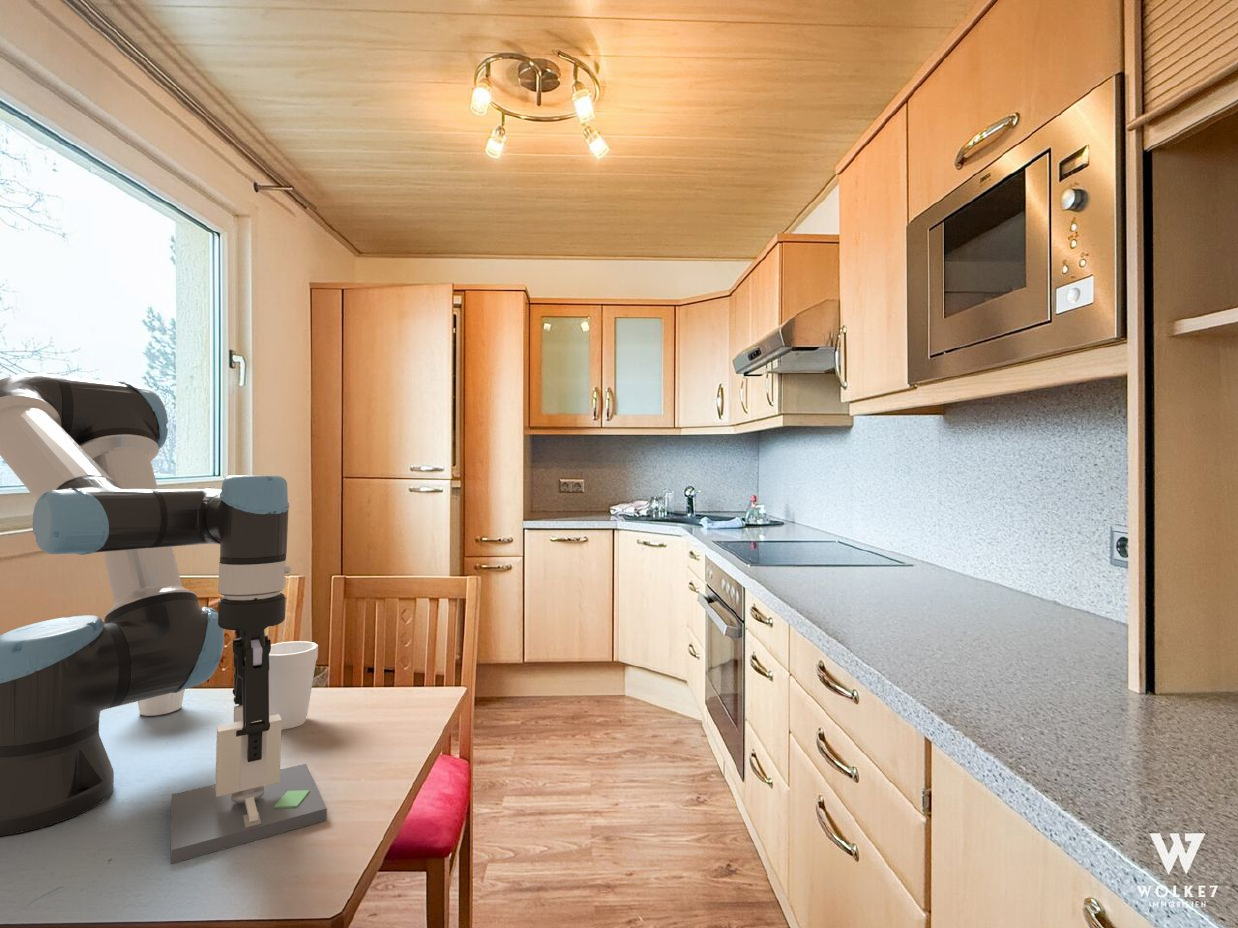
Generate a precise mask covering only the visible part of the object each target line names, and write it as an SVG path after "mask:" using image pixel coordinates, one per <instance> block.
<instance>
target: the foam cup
mask: <svg viewBox="0 0 1238 928" xmlns="http://www.w3.org/2000/svg"><path fill="white" fill-rule="evenodd" d="M318 656H319V644H317V643H316V642H312V641H308V640H307V641H306V640H305V641H304V640H296V641H295V640H293V641H283V642H282V641H281V642H277V643H271V650H270V653H269V716H272V715H277V714H279V715H280V718H281V731H282V730H288V729H292V728H296V727H299V726H301V725H303V724H304V723H306V721H307V717H308V713H309V706H310V700H311V696H312V695H311V694H312V688H313V683H314V682H313V681H314V676H315V669H316V663H317V660H318V658H319V657H318Z"/></svg>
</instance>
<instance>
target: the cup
mask: <svg viewBox="0 0 1238 928" xmlns="http://www.w3.org/2000/svg"><path fill="white" fill-rule="evenodd" d="M185 690H186V689H184V690H182V691H180V692H178V693H169V694H165V695H161V696H157V697H153V698H149V699H145V700H141V701H137V706H138V712H139V715H142V716H146V717H148V716H160V715H166V714H169V713H173V712H175V711H179V709H181V708H182V705H183V700H184V695H185Z"/></svg>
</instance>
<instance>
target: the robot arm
mask: <svg viewBox="0 0 1238 928" xmlns="http://www.w3.org/2000/svg"><path fill="white" fill-rule="evenodd" d="M168 424H169V418H168V414H167V410H166V407H165V405H164V403H163V401H162V399H161V398H160V396H159V395H158V394H157V393H156V392H155V391H154V390H153V389H151V388H149V387H146V386H143V385H138V384H137V385H136V384H132V383H129V382H125V381H114V382H112V381H105V380H104V381H103V380H96V379H87V378H80V377H73V376H72V377H71V376H63V375H54V374H47V373H22V374H15V375H12V376H11V375H10V376H8V377H4V378H2V379H1V378H0V457H1V458H2V459H3V461H4V462H5V464H6V465H8V467H9V468H10V469H11V470H12V472H13V473H14V474H15V476H16V477H17V478H18V479H19V480H20V481H21V483H22V484H23V485H24V486H25V488H26V489H27V490H28V491H29V493H30V494H31V495H32V497H34V498H35V500H36V502H35V504H34V506H33V507H34V508H33V512H32V532H33V535H34V536H35V543H36V545H37V547H38V548H39V549H40V550H41V551H42V552H44V553H47V554H50V555H72V554H73V555H74V554H75V555H80V556H81V555H82V556H85V555H92V554H94V553H103V558H104V563H105V568H106V571H107V576H108V581H109V585H110V591H111V594H112V595H111V596H112V599H113V605H112V607H111V608H110V609H109V610H108V611H107V612H106V613H105V615H104V617H103V620H102V618H101V617H100V616H97V615H91V614H87V615H82V614H81V615H74V616H70V617H65V616H64V617H60V618H53V619H48V620H43V621H38V622H35V623H31V624H27V625H24V626H20V627H17V628H13V629H12V630H9V631H7V632H4V633H2V634H0V836H7V835H8V836H9V835H13V834H19V833H23V832H24V833H26V832H29V831H32V830H37V829H42V828H44V827H47V826H51V825H54V824H57V823H60V822H63V821H66V820H68V819H70V818H74V817H75V816H77V815H80V814H82V813H85V812H86V811H89V810H90V809H93V808H95V807H96V806H97V805H100V804H101V803H102V802H103V801H105V800H106V799H107V798H108V797H109V796H110V795H111V794H112V792H113V790H114V782H115V781H114V780H115V772H114V768H113V765H112V763H111V761H110V758H109V756H108V752H107V749H106V748H105V746H104V743H103V740H102V739H101V736H100V715H101V712H102V711H104V710H107V709H112V708H115V707H116V708H117V707H121V706H124V705H127V704H132V703H138V701H141V700H145V699H149V698H153V697H157V696H161V695H165V694H169V693H178V692H180V691H182V690H184V689H185V690H186V689H190V688H193V687H197V686H199V685H201V684H204V683H206V682H207V681H208V680H209V679H211V677H212V676H213V675H214V674H215V672H216V671H217V670H218V667H219V664H220V662H221V659H222V655H223V652H224V644H225V631H224V630H226V631H235V632H234V633H235V635H236V637H235V638H233V639H232V653H234V654H233V667H234V677H233V679H234V681H233V689H232V694H233V696H234V697H233V703H234V705H235V706H233V722H239V721H243V728H242V730H237V731H236V737H238V736H241V749H240V786H239V787H240V789H243V788H247V787H251V786H255V785H260V784H264V783H266V749H267V731H268V730H269V729H270V723H269V653H270V650H271V644H272V643H271V639H269V636H268V634H267V635H265V630H266V629H267V628H269V627H276V626H278V625H280V624H282V623H283V622H284V621H285V619H286V601H287V598H286V597H287V596H286V595H285V593H283V590H285V589H286V576H285V575H286V574H290V573H291V571H292V568H291V566H290V565H286V564H287V554H288V553H287V551H288V532H289V531H288V529H289V528H288V526H289V508H290V503H289V499H288V498H289V496H288V493H289V491H288V482H287V480H286V478H284V477H283V476H280V475H253V474H252V475H250V474H249V475H239V474H237V475H236V474H235V475H234V474H233V475H231V474H230V475H228V476H226V477H225V478H224V479H223V480H222V484H221V488H215V487H195V488H171V489H170V488H166V489H165V488H164V489H161V488H158V485H157V484H158V483H157V480H156V475H155V472H154V468H153V464H152V461H153V460H154V459H155V458H156V457H157V456H158V455H159V452H160V449H161V448H162V447H163V446H164V445H165V444H166V441H167V437H168V433H169V429H168V427H167V425H168ZM197 545H198V546H199V545H219V546H220V547H219V556H220V557H219V563H218V565H219V567H218V589H217V590H218V593H219V594H220V595H222V597H221V598H220V599H219V600H218V609H217V610H218V611H217V610H216V609H215V608H212V607H207V606H202V607H201V606H200V603H199V598H198V595H197V593H196V592H194V591H192V590H190V589H188V588H185V587H183V584H182V580H181V576H180V572H179V568H178V564H177V561H176V557H175V551H174V548H173V547H185V546H197ZM260 720H261V721H260ZM254 721H260V722H254ZM252 722H254V723H252Z"/></svg>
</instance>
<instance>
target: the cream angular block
mask: <svg viewBox="0 0 1238 928" xmlns="http://www.w3.org/2000/svg"><path fill="white" fill-rule="evenodd" d="M260 721H261V720H260ZM260 721H254V722H260ZM254 722H252V723H254ZM269 723H270V729H269V730H268V731H267V749H266V783H264V784H260V785H255V786H251V787H247V788H243V789H240V787H239V786H240V749H241V736H238V737H236V731H237V730H242V728H243V721H239V722H234V721H233V722H228V723H223V724H217V725H216V741H215V743H216V744H215V745H216V747H215V748H216V749H215V776H214V777H215V781H214V783H215V792H216V797H218V796H223V795H227V794H231V793H232V794H231V800H232V801H233V802H236V803H241V804H245V805H246V810H247V814H248V819H249V822H251V821H255V820H258V812H257V808H256V805H255V801H254V800H256V799H258V798H259V797H261V796H262V795H263V794H264V787H263V786H265V785H269V784H273V783H277V782H280V769H281V754H282V753H281V751H282V749H281V748H282V730H281V718H280V715H279V714H277V715H272V716H269Z"/></svg>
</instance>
